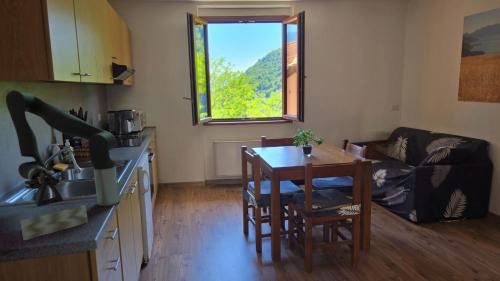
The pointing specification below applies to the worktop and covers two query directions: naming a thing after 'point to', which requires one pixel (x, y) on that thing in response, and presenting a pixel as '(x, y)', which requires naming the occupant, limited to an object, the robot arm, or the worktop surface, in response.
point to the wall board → (53, 222)
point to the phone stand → (41, 191)
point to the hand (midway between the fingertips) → (48, 186)
